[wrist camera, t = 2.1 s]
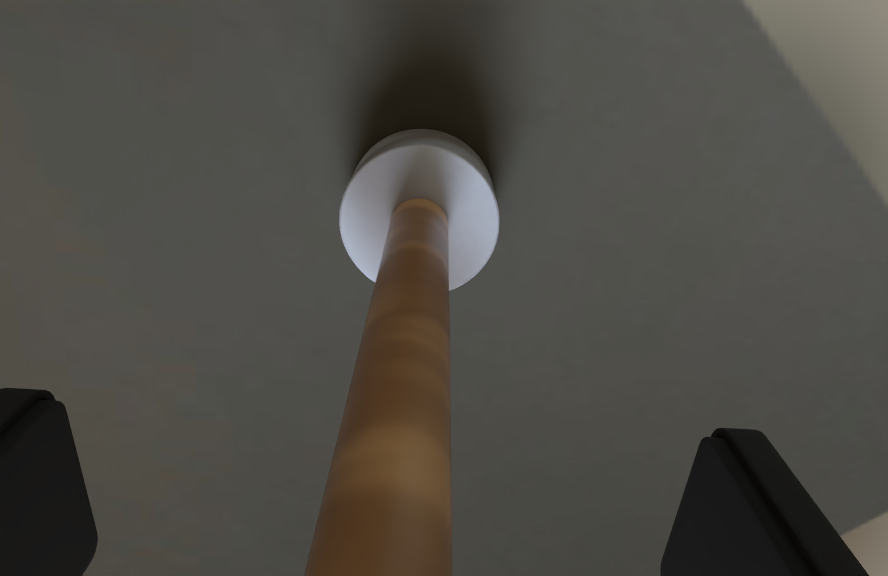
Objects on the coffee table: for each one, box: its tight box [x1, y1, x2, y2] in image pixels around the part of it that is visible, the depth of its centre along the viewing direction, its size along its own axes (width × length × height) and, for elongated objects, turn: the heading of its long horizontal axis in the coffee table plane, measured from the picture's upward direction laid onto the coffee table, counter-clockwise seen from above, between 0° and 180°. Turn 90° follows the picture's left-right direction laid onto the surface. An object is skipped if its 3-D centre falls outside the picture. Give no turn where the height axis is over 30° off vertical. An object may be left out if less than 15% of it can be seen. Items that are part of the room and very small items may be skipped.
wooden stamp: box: [304, 129, 500, 576], centre depth 13 cm, size 5×5×17 cm
